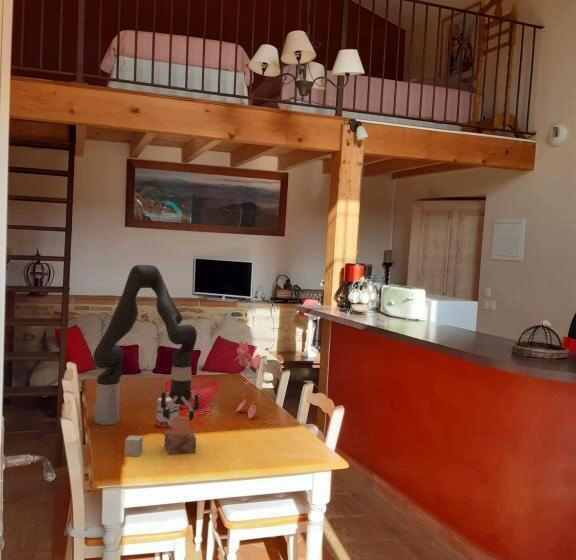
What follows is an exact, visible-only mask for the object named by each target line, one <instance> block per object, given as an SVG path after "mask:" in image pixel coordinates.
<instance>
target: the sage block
mask: <svg viewBox="0 0 576 560" xmlns="http://www.w3.org/2000/svg"><path fill="white" fill-rule="evenodd" d="M143 438H144V436H143V435H128V437H126V439H125V445H124V457H125V456H126V457H140V455H141V454H142V453H143V442H144V441H143V440H144V439H143Z"/></svg>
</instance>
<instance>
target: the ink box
mask: <svg viewBox="0 0 576 560" xmlns="http://www.w3.org/2000/svg"><path fill="white" fill-rule="evenodd" d="M161 399H162V397H158V398H157V399H156V417H155V425H156V427H158V428H160V429H165V428H172V420H173V419H174V418H175V417H180V404H175V403H173V404H172V405H171V407H170V419H169V420H168V419H167V418H166V417H165V412H166V410H165V409H164V408H161ZM171 401H172V399H171V398H170V396H168V397H167V398H166V405H168V404H169V403H170V402H171Z"/></svg>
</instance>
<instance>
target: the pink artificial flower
mask: <svg viewBox="0 0 576 560" xmlns="http://www.w3.org/2000/svg"><path fill="white" fill-rule="evenodd" d="M238 345H239V346H238V347H237V348H236V353H237V354H238V355H237V357H236V358H235V359H234V360H233V362H235V361H237V360H238V361H239V362H238V363H239V366H241V367H242V366H243V367H244V368H245V369H244V370H243V371H244V378H245V382H244V386H243V396H246V395H245V394H246V393H245V390H246V389H245V388H249V389H251V390H252V391H253V392H254V393H255V394H254V399H253V403H252V405H250V407H248V405H247V400H246V399H243V401H241V403H240V404H239V405H238V407H237V408H236V411H235V412H236V413H238V412H239V411H240V410H242V409H244V406H245V409H246V410H247V415H248V418H249V420H251V419H252V418H253V417H254V416H255V415H256V417H257V419H258V418H259V415H258V412H257V406H256V404H255V403H256V402H255V401H256V397H257V391H256V390H254V389H253V388H252V387H251V382H250V381H248V379H247V374H246V373H247V370H249V369H251V368H252V367H253V368H255V369H258V370H260V369H261V368H260V363H261V359H262V357H261V355H260V354H259V353H257V354H256V355H255V356H254V358H253V359H252V356H251V355H252V354H250V352H249V351H250V350H249V343H248V341H245V342H244V341H243V340H240V341H239V343H238ZM227 419H228V420H229V418H227V417H226V420H227ZM231 421H233V422H237V423H239V421H237V420H233V419H231Z"/></svg>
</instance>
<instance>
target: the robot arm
mask: <svg viewBox="0 0 576 560" xmlns="http://www.w3.org/2000/svg"><path fill="white" fill-rule="evenodd" d="M141 289H151V290H152V291H153V292H154V293H155V295H156V311H157V314H158V315H159V317H160V318H161V320H162V321H163V323H164V324H165V330H166V332H167V333H166V334H167V336H168V340H169V341H170V342H171V343H172V344H173V345H176V346H177V345H181V346H180V348H178V349H176V350H174V351H173V353H172V361H171V362H172V363H171V364H172V365H171V372H170V373H171V374H170V391H169V392H168V391H166V390H163V392H162V393H161V398H162V399H161V408H164V409H165V410H166V412H165V417H166V418H167V419H168V420H169V419H170V407H171V405H172V404H173V403H175V404H179V405H181V406H184V405H185V406H186V408H188V409H189V416H188V422H189V421H190V422H192V420H194V418H195V411H198V410H199V408H200V394H199V392H195V393H192V391H191V390H192V387H191V386H192V377H193V376H192V355H193V351H194V349H195V345H196V342H197V337H198V334H197V333H198V332H197V329H196V327H195V326H194V325H192V324H183V325H179V324H181V322H182V321H183V316H182V314H181V312H180V310H179V309H178V307H177V306H176V304H175V303H174V301H173V299H172V298H171V295H170V293H169V291H168V288H167V286H166V284H165V281H164V279H163V275H162V273H161V272H160V269H158V267H157V266H155V265H150V264H137V265H134V266H133V267H132V268H131V269H130V271H129V273H128V276H127V279H126V283H125V285H124V289H123V291H122V295H121V297H120V299H119V301H118V304H117V306H116V307H115V310H114V311H113V315H112V316H111V319H110V322H109V324H108V326H107V328H106V330H105V331H104V334H103V335H102V337H101V340H100V341H99V342H98V344H97V345H96V347H95V350H94V352H93V364H94V366H95V367H97V368H99V369H101V368H103V369H105V368H106V369H105V370H104V371H103V372H102V373H101V374H99V375H97V377H96V400H95V401H94V419H93V420H94V424H98V425H101V426H106V425H107V426H111V425H115V424H118V423H119V418H120V416H119V413H120V412H119V411H120V381H121V380H120V379H121V376H122V372H123V371H122V369H123V358H124V356H123V351H122V348H121V347H120V345H119V344H118V342H119V341H120V340H122V339H123V338H124V337H125V336H126V335H127V334H128V333H129V332H130V331H131V330H132V329H133V327H134V325H135V323H136V321H137V318H138V315H139V310H138V305H137V300H136V299H137V296H138V293H139V291H140V290H141ZM167 397H170V398H171V399H172V401H171V402H170V403H169V404H168V405H166V398H167ZM191 399H193V400H194V405H193V403H192V401H191Z"/></svg>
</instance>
